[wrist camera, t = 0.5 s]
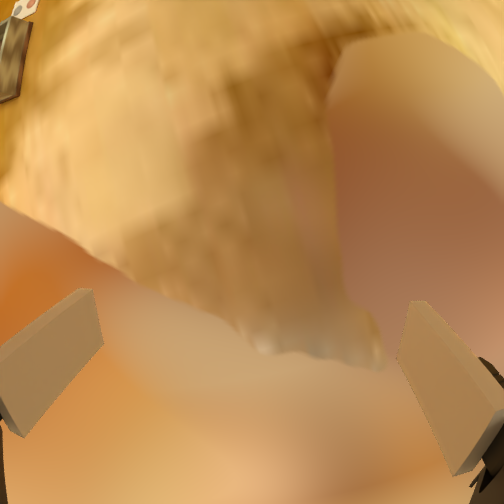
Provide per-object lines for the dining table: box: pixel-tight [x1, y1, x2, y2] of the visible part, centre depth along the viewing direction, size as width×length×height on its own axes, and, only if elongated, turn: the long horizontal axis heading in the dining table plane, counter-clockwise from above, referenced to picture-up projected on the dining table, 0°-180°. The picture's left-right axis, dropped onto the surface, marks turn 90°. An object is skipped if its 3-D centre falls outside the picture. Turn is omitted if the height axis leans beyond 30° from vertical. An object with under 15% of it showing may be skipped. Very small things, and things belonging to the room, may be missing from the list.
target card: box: [11, 0, 39, 19], centre depth 30 cm, size 6×8×1 cm
